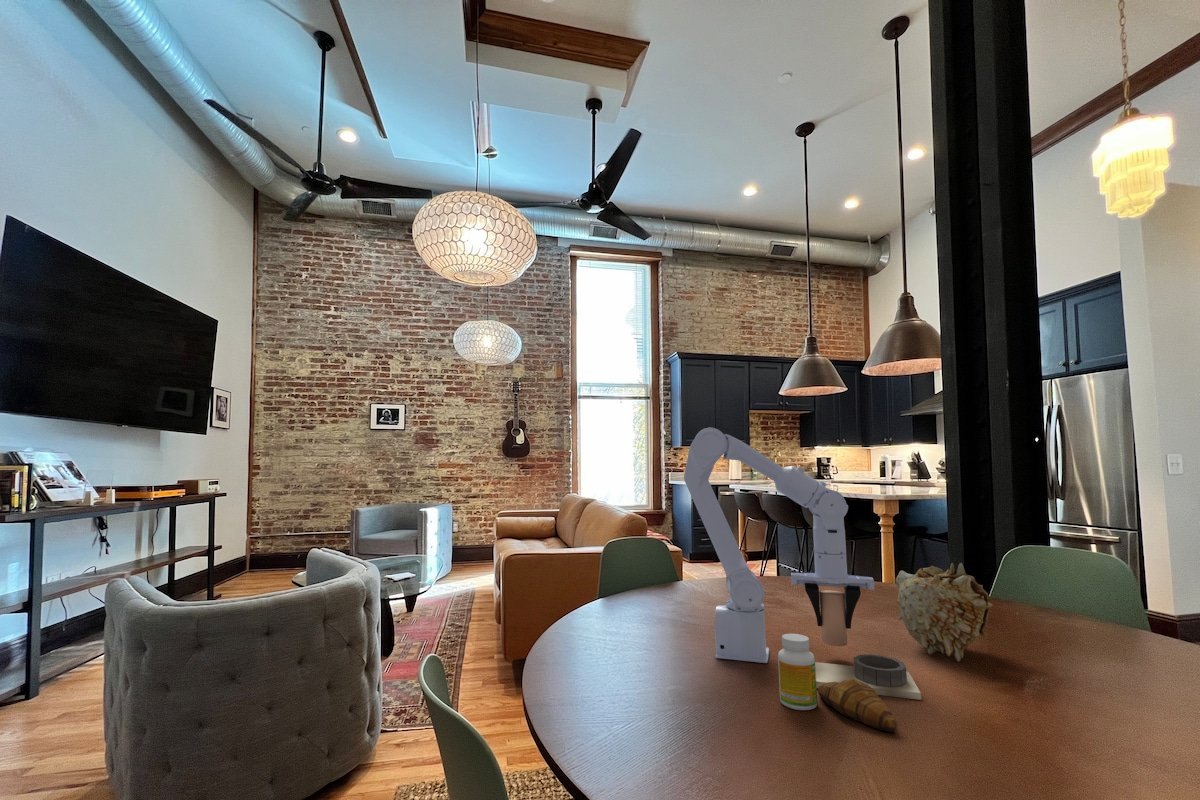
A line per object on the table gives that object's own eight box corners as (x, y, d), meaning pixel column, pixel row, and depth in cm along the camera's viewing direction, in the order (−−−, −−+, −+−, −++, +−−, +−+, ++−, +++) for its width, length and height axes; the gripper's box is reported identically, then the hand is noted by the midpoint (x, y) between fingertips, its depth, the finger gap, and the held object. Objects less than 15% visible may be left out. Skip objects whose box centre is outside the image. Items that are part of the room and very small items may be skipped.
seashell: (982, 563, 99) (1006, 566, 108) (880, 556, 112) (909, 560, 122) (993, 671, 94) (1017, 665, 104) (885, 651, 108) (915, 647, 117)
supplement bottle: (820, 712, 81) (817, 643, 82) (782, 709, 82) (779, 641, 83) (814, 697, 86) (810, 632, 87) (778, 695, 87) (775, 631, 88)
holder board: (784, 684, 91) (783, 662, 92) (785, 664, 100) (784, 644, 101) (921, 699, 85) (919, 675, 85) (908, 677, 94) (907, 656, 94)
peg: (822, 644, 102) (820, 594, 103) (821, 637, 106) (819, 589, 108) (848, 647, 101) (845, 596, 102) (846, 640, 105) (843, 591, 106)
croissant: (913, 731, 75) (910, 693, 76) (876, 740, 73) (873, 700, 73) (838, 694, 88) (836, 661, 88) (804, 700, 85) (802, 667, 86)
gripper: (790, 553, 104) (793, 628, 103) (874, 557, 100) (879, 635, 98) (789, 548, 111) (792, 618, 109) (869, 551, 106) (873, 625, 105)
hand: (833, 626), depth 104 cm, fingers closed on peg, 4 cm apart
